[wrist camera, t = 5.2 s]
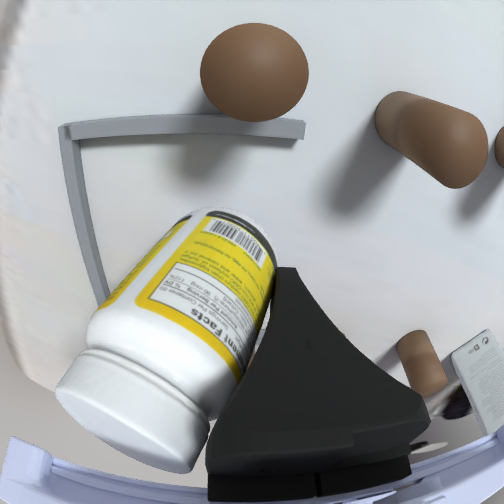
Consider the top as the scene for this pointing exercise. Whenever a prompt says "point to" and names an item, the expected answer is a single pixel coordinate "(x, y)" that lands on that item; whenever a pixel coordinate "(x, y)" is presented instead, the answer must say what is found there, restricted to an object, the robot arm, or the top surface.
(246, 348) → the supplement bottle
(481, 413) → the skincare box
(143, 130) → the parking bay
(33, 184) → the top surface
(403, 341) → the posts
